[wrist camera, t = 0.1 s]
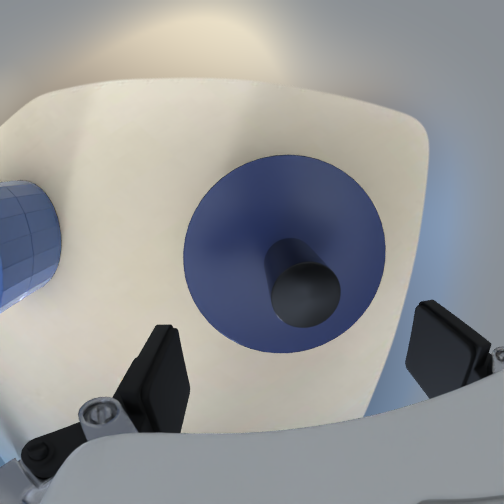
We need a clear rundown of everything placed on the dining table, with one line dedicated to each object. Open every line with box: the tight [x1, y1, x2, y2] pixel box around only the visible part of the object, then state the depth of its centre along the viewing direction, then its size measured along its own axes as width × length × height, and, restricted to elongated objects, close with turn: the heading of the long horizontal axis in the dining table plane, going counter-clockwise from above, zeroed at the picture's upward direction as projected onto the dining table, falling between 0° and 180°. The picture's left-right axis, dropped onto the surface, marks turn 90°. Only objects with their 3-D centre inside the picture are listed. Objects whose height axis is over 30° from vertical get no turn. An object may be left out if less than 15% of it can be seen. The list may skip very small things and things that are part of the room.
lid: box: [183, 155, 386, 353], centre depth 16 cm, size 13×13×7 cm
